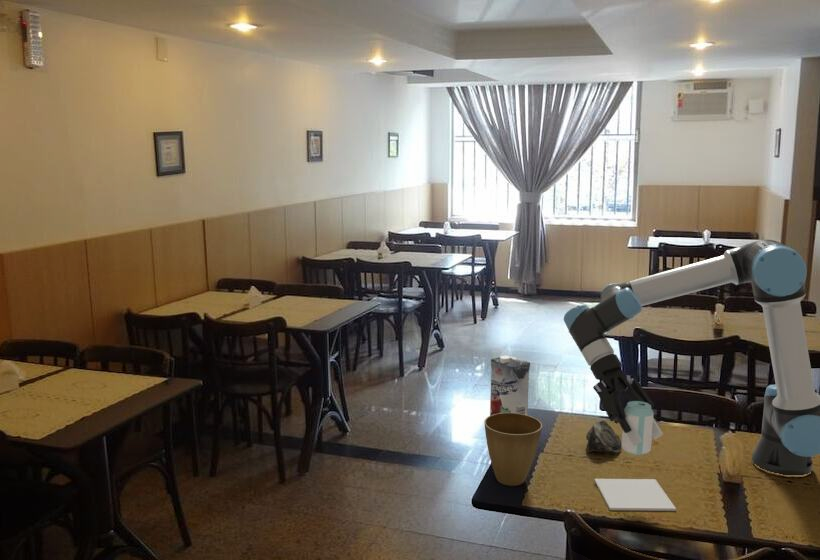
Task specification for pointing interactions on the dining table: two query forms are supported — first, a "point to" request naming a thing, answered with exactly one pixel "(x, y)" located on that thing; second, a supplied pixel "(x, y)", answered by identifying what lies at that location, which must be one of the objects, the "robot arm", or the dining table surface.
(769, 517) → the dining table surface
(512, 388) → the juice carton
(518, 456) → the plant pot
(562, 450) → the dining table surface
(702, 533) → the dining table surface
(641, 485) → the white mat
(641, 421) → the can
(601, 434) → the fossil
